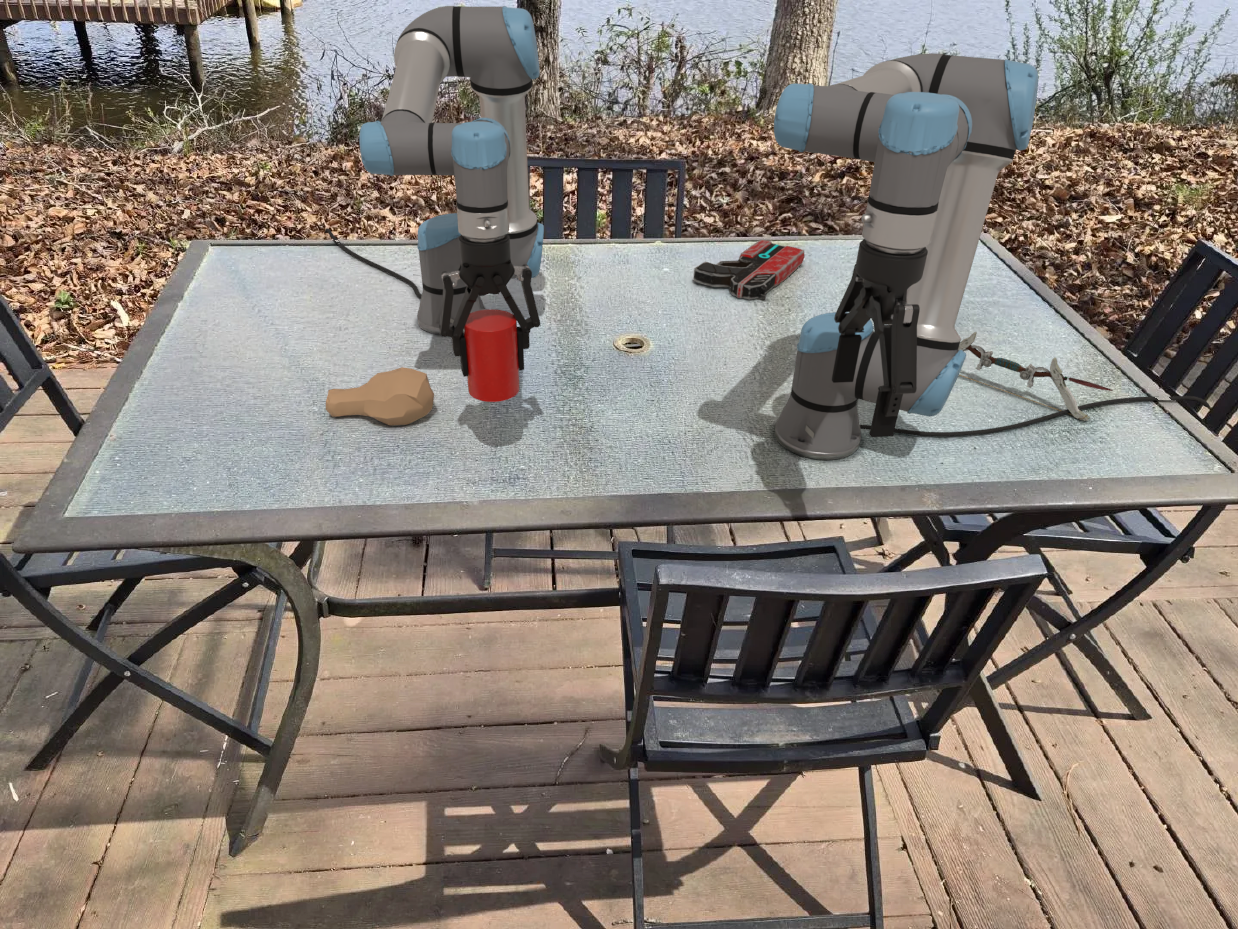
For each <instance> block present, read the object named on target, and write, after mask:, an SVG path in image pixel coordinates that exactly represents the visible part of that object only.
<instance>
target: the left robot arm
mask: <svg viewBox="0 0 1238 929" xmlns="http://www.w3.org/2000/svg"><path fill="white" fill-rule="evenodd" d="M537 43H538V42H537V37H536V30H535V25H534V20H533V17H532V14H531V13H530V12H529V10H527V9H526V8H525V9H524V8H521V7H509V6H508V7H507V5H502V6H455V5H443V6H440V7H436V8H433V9H429V10H428V11H426V12H424V13H422V14H420V15H419V16H417V17H416V18H414V19H413V20H412V21H411V22H410V23H409V24H407V26H406V27H405V28H403V31H402V32H401V33H400V35H399V37H398V38H397V41H396V44H395V47H394V50H393V51H394V53H393V58H394V64H395V71H394V74H393V78H392V82H391V86H390V89H389V93H388V96H387V99H386V104H385V107H384V111H383V115H382V118H381V120H375V121H369V122H365V123H363V124H362V125H361V127H360V130H359V152H360V157H361V162H362V165H363V167H364V169H365V171H366V172H368V173H369V174H371V175H382V176H383V175H384V176H385V175H386V176H389V177H394V176H453V177H454V186H455V187H454V188H455V196H456V212H454V213H446V214H440V215H436V216H433V217H430V218H428V219H426V220H424V221H423V222H422V223H421V224H419V226H418V229H417V247H416V248H417V250H418V258H419V264H420V266H419V267H420V275H421V276H420V277H421V284H422V292H421V293H420V290H419V288H418V286H417V284H416V283H414V281H412V280H410V279H409V278H407V277H406V276H403V275H401V274H400V273H397V272H395V271H393V270H391V269H389V268H386V267H385V266H382V265H380V264H378V263H376V262H374V261H371V260H369V259H368V258H366V257H363V256H362V255H360V254H358V253H356V252H354V251H353V250H351V249H349V247H346V246H345V245H344V244H343V243H342V242H340V241H339V239H338V238H337V237H336V236H335V234H334V233H333V232H332V230H331V229H330V228H328V227H327V228H325V230H324V234H328V236H329V237H330V238H331V239H332V240H333V241H334V240H338V241H339V242H336V241H334V242H335V244H336V245H337V246H338V247H339V248H340V249H341V250H343V251H344V252H346V253H347V254H349V255H350V256H351V257H353V258H356V259H357V260H359V261H361V262H362V263H364V264H367V265H369V266H372V267H374V268H376V269H377V270H379V271H382V272H385V273H387V274H388V275H391V276H392V277H394V278H397V279H399V280H400V281H402V282H404V283H406V284H407V285H409V286H411V288H412V289H413V291H414V293H415V295H416V297H417V298H419V299H420V302H419V305H418V310H417V315H416V318H417V325H418V326H419V328H420V329H421V330H423V331H424V332H427V333H430V334H433V335H440V336H441V337H443V338H446V337H447V338H448V337H449V338H450V339H451V347H452V352H453V355H454V357H455V358H457V357H459V358H460V359H459V361H460V370H461V373H462V376H463V378H464V377H466V378H467V376H468V366H467V353H466V341H465V337H464V330H463V329H464V327H465V324H466V322H467V319H468V317H469V314H470V313H472V312H475V311H479V310H486V306H485V304H484V302H483V299H482V298H481V297H483V296H484V297H485V296H487V295H495V296H496V295H500V294H501V296H502V298H503V300H504V301H505V302H506V304H507V306H508V308H509V310H510V311H511V313H512V314H513V315H514V317H515V318H516V320H517V325H519V326H517V340H518V363H519V371H525V352H524V351H525V350H529V348H530V333H531V330H532V329H533V328H539V327H540V326H541V320H540V316H539V312H538V308H537V304H536V298H535V295H534V292H533V288H532V279H535V278H537V276H538V275H539V274H540V271H541V265H542V256H543V247H544V246H543V245H544V235H545V226H544V224H543V223H540V222H538V217H537V215H536V213H535V212H534V211H533V210H531V209H530V194H529V168H528V166H529V165H528V144H527V140H528V139H527V120H526V119H527V118H526V95H527V94H529V93H530V91H531V90H532V89H533V80H536V79H539V77H540V70H541V69H540V60H539V52H538V44H537ZM450 77H451V78H452V77H454V78H455V77H458V78H469V83H470V89H471V90H472V91H473V92H474V93H475V94H476V95H477V96H478V97H479V108H480V117H479V118H476V119H474V120H472V121H466V122H460V123H459V122H433V120H434V117H435V116H434V115H435V112H436V106H437V101H438V95H439V91H440V86H441V83H442V82H443V81H444V80H445V79H446V78H450ZM338 243H340V244H338ZM341 243H342V244H341ZM511 280H518V281H520V286H521V288H522V293H523V296H524V301H525V304H526V308H527V312H528V318H525V317H524V314H523V313H522V311H521V309H520V308H519V306H518V304H517V302H516V301H515V299H514V297H513V295H512V294H511V291H510V290H509V287H508V286H507V285H508V284H509V282H510V281H511Z"/></svg>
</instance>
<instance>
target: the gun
mask: <svg viewBox="0 0 1238 929" xmlns="http://www.w3.org/2000/svg"><path fill="white" fill-rule="evenodd" d="M805 256H806V255H805V249H801V248H798V247H794V246H791V245H782V244H781V245H780V244H776V243H772V240H767V239H759V240H757V241H756V242H754V243H753V244H752V245H750V246H749V247H748V248H746V249H745V250H743V251H741V253H740V255H739V256H738V260H736V259H735V260H720V261H719V262H717V263H712V262H709V261H706V260H705V261H704V262H702V263H701V264H699V265H697V266H696V267H693V279H692V281H694V282H696V283H697V284H702V285H703V286H708V287H713V288H714V287H715V288H729V293H730V294H731V295H732V296H735V297H736V298H737V299H744V300H745V299H746V300H754V299H759V300H762V301H765V300H766V297H767V293H768V292H770V291H771V290H772V289H774V288H776V287H778V286H780V284H781V283H782V282H784V281H785V280H786V279H788V277H789V276H790V275H792V274H793V273H794V272H795V271H796V270H797V269H798V268H799V267H800V266H802V265H803V262H804V259H805Z"/></svg>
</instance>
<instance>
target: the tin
mask: <svg viewBox="0 0 1238 929" xmlns="http://www.w3.org/2000/svg"><path fill="white" fill-rule="evenodd" d="M517 327H518V322H517V320H516V318H515V317H514V315H513V313H512V312H510V311H508V310H503V309H495V308H491V309H489V308H488V309H487V308H485V310H479V311H475V312H472V313H470V314H469V317H468V319H467V322H466V324H465V327H464V329H463V330H464V337H465V341H466V353H467V366H468V376H466V380H467V390H468V394H469V395H470V396H471V398H473V399H475V400H477V401H481V402H487V403H498V402H499V403H500V402H505V401H508V400H511V399H513V398H515V397H516V396H517V395H518V394H519V392H520V388H521V386H520V370H519V363H518V340H517Z"/></svg>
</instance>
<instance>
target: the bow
mask: <svg viewBox="0 0 1238 929" xmlns="http://www.w3.org/2000/svg"><path fill="white" fill-rule="evenodd" d="M977 334H978V333H977V331H974V332H973V333H972V334H971V335H969V336H968V337H966V338H963V339H961V341H960V344H959V348H958V350H963V352H967V351H969V352H970V353H972V354H973V355H974V356H975V357H976V358H978V359H979V362H978V363H977V364H976V367H975V370H977V371H981V370H982V369H983V367H985V368H990V367H991V366H992V365H995V366H998V367H1000V368H1004V369H1007V370H1009V371H1012V372H1016V373H1019V378H1020V379H1021V380H1023V381H1027V382H1026V384H1027V385H1026V387H1027V388H1029V389H1032V387H1034V383H1035V380H1034V379H1035V378H1050V379H1051V381H1052V382H1053V383H1054V386H1055V387H1056V389H1057V390H1058V392H1059V394H1060V396H1061V399H1062V400H1063V403H1064V405H1065V407H1066V409H1068V410H1069V411H1070V412H1071V413H1068V414H1067V415H1069V416H1072V417H1073V418H1076V419H1077V420H1080V421H1084V422H1086V421H1089V419H1090V418H1091V417H1090V416H1088V414H1086V413H1085V412H1083V411H1082V410H1079V409H1078V406H1079V405H1078V403H1077V400H1076V398H1075V396H1074V395H1073V393H1072V391H1071V389H1070V388H1069V387H1068V386H1067V384H1066V381H1067V380H1068V381H1069V382H1072V383H1075V384H1078V385H1081V386H1084V387H1087V388H1092V389H1095V390H1101V391H1102V390H1103V391H1109V392H1113V391H1114V390H1113V389H1111V388H1110V387H1106V386H1103V385H1101V384H1100V385H1099V384H1097V383H1093V382H1091V381H1088V380H1084V379H1080V378H1075V377H1068V376H1066V375H1065V376H1064V374H1063V371H1062V368H1061V367H1060V366H1059V363H1058V358H1057V357H1053V358H1052V359H1051V362H1050V366H1049V369H1048V368H1047V367H1044V366H1036V367H1035V365H1033V364H1032V363H1030V364H1028V365H1027V366H1025V367H1023V366H1022V365H1021V364H1020V363H1019V362H1016V361H1014V360H1010V359H1007V358H1004V357H994V356H993V355H994V352H993V350H990V351H989V350H987V351H986V350H985V349H984V348H983V347H982V346H980V345H978V344H977V345H976V344H973V343H974V342H975V340H976V339H977V338H976V337H977ZM972 344H973V345H972ZM959 376H960V377H963V378H965V379H968V380H971V381H973V382H976V383H979V384H982V385H985V386H988V387H991V388H993V389H996V390H999V391H1003V392H1005V393H1008V394H1010V395H1014V396H1016V397H1019V398H1022V399H1024V400H1027V401H1030V402H1032V403H1036V404H1039V405H1042V406H1045V407H1047V408H1050V409H1052V410H1056V411H1057V412H1060V411H1062V410H1061V409H1059V408H1056V407H1052V406H1050V405H1047V404H1044V403H1042V402H1038V401H1036V400H1033V399H1030V398H1027V397H1025V396H1021V395H1019V394H1016V393H1013V392H1010V391H1007V390H1004V389H1001V388H999V387H996V386H993V385H990V384H987V383H985V382H981V381H979V380H976V379H973V378H970V377H967V376H965V375H962V374H959V375H958V377H959Z"/></svg>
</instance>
